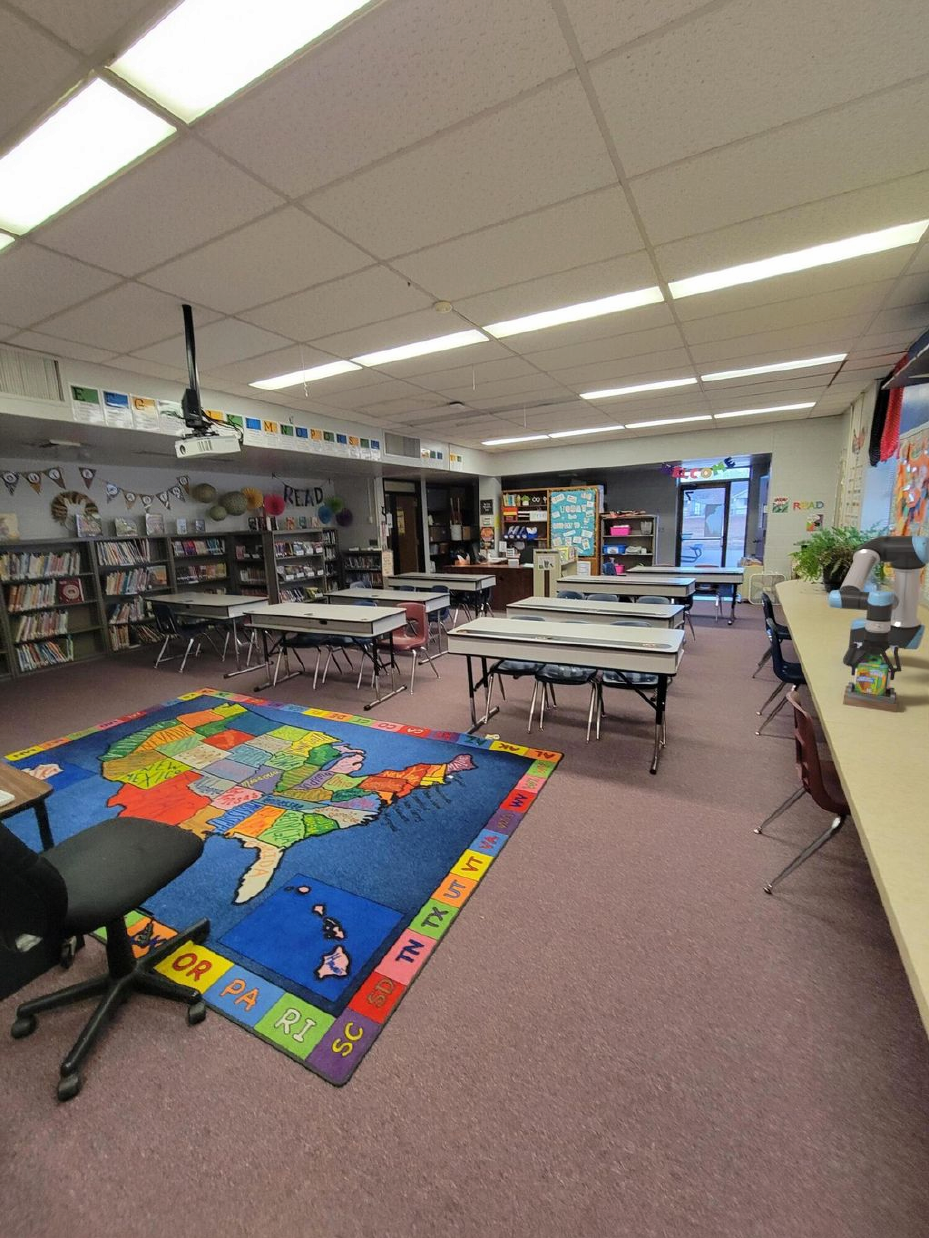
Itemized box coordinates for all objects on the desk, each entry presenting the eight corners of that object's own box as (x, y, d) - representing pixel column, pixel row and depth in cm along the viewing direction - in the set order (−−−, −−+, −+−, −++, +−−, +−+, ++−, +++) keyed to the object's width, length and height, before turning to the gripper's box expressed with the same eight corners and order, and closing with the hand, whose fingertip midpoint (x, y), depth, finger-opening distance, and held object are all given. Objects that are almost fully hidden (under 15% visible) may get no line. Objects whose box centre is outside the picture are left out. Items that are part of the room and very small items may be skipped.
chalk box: (854, 692, 196) (857, 656, 193) (857, 686, 202) (861, 651, 200) (884, 697, 190) (888, 660, 187) (886, 690, 196) (891, 654, 193)
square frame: (845, 692, 208) (846, 681, 207) (895, 699, 198) (896, 687, 197) (843, 704, 196) (844, 692, 195) (896, 712, 186) (897, 699, 185)
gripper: (841, 629, 195) (836, 683, 200) (915, 635, 181) (908, 693, 186) (842, 626, 201) (837, 678, 205) (914, 631, 187) (907, 687, 191)
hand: (871, 685), depth 196 cm, fingers closed on chalk box, 9 cm apart
